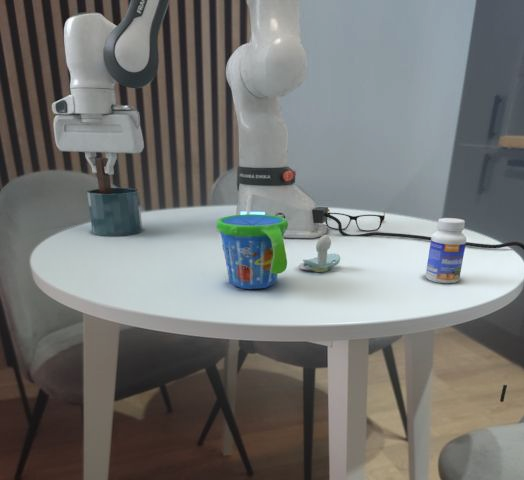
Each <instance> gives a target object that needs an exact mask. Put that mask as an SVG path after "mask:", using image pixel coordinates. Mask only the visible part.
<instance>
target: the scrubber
mask: <svg viewBox="0 0 524 480" xmlns="http://www.w3.org/2000/svg"><path fill="white" fill-rule="evenodd" d="M107 162H108V158H106V157H95V164H96V171H97V174H96V176H97V177H96V178H97V184H98V185H97V186H98V189H99V194H112V192H111V188H112V185H111V177H110V176H111V175H105V174H104V170H103V166H106V165H107Z"/></svg>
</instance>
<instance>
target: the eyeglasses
mask: <svg viewBox="0 0 524 480" xmlns="http://www.w3.org/2000/svg"><path fill="white" fill-rule="evenodd" d="M328 214H329V215H339V216H340V215H341V216H346V217H348V218H349V221H348V223H347V226H345V228H342V231H345V230H347V229H348V227H349V226H350V224H351V221H354V222H355V224H356V227H357V229H358V230H359V231H360V232H364V233H371V232H378V230H380V229H381V227H382V224H383V222H384V221H385V217H386V215H385V214H386V211H383V215H381V214H359V215H350V214H345V213H340V212H331V211H330V209H329V208H328ZM361 217H378V218H379V225H378V227H377V228H375V229H370V230H365V229H361V228H360V227H359V225H358V218H361ZM328 219H329V220H331V219H330V218H328ZM324 223H325V225H326V226H327V229H332V230H335V231H339V228H335V227H331V226H329V223H328V220H327V221H325V222H324Z"/></svg>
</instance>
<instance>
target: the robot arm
mask: <svg viewBox="0 0 524 480" xmlns="http://www.w3.org/2000/svg"><path fill="white" fill-rule="evenodd" d="M170 1H171V0H130V2H129V4H128V8H127V11H126V13H125V15H124V17H123V18H122V20H121V21H119V22H120V23H118V24H117V25H116V24H114V23H113V22H111V21H110V20H109V19H108V18H106V17H105V16H104V15H103V14H102V13H100V12H96V11H85V12H79V13H78V12H77V13H75V14H73V15H70V16H69V17H68V18H67V19H66V21H65V22H64V27H63V41H64V44H63V45H64V54H65V62H66V67H67V69H68V71H69V76H70V83H69V89H70V94H68V95H66V96H64V97H63V98H61V99H59V100H56V101H54V102H53V103H51V110H52V113H53V114H54V115H55V116H54V118H53V134H54V142H55V145H56V147H57V148H58V150H59V151H60V152H69V153H70V152H73V153H74V152H75V153H84V156H85V159H86V160H87V162H88V164H89V165H90V167H91V173H92V175H97V171H96V164H95V158H98V157H97V153H104V154H105V158H107V159H108V162H107V165H106V166H103V170H104V174H105V175H109V176H113V175H114V174H115V170H114V166H115V164H116V161H117V159H118V155H117V154H140V153H142V152H143V151H144V149H145V143H144V137H143V132H142V127H141V118H140V112H139V111H138V110H137V109H136V107H133V105H131V104H123V105H122V104H117V98H116V89H115V86H116V84H119V85H121V86H123V87H125V88H129V89H141V88H145V87H147V86H148V85H150V84H151V83H152V81H154V79H155V78H156V74H157V73H158V69H159V63H160V57H159V56H160V55H159V42H158V41H159V35H160V31H161V28H162V26H163V25H162V24H163V22H164V18H165V15H166V13H167V10H168V8H169V4H170ZM301 1H302V0H245V2H246V5H247V7H248V11H249V19H250V38H249V42H246V43H244V44H241V45H239V46H238V47H237V48H236V50H234V51H233V53H231V55H230V57H229V58H228V60H227V63H226V67H225V78H226V81H227V83H228V86H229V88H230V90H231V95H232V100H233V101H232V102H233V106H234V112H235V116H236V123H237V124H236V125H237V130H238V131H237V133H238V165H237V167H236V189H237V192H238V193H237V204H236V212H235V215H243V214H262V215H273V216H279V217H283V218H285V219H286V220H287V222H288V227H287V229H286V231H285V233H284V235H283V238H288V239H289V238H290V239H315V238H320V237H322V236H323V235H326V233H328V227H327V225H326V222H325V221H327V222H328V219H329V218H330V219H329V220H333V221H334V222H335V223H336V224H337V225H338V227H337V228H338V229H339V230H338V232H339V234H340V235H342V236H343V237H373V236H374V237H375V236H376V237H379V236H380V237H393V238H407V239H414V240H415V239H417V240H424V241H430V242H431V237H432V236H426V235H419V234H408V233H397V232H383V231H381V232H380V231H370V232H364V233H359V234H350V233H347V232H345V231H344V230H342V229H343V227H342V221H340V220H339V218H337V217H336V216H334V215H333V214H330V215H329V214H328V213H329V211H328V209H329V206H317V204H316V202H315V201H314V200H313V199H312V198H311V197H309V196H308V195H307V194H306V193H305V192H304V191H303V190H302V189H300V187H299V186H297V185H296V184H295V183H296V176H297V174H296V173H297V169H292V168H291V167H289V166H288V155H289V154H288V153H289V152H288V151H289V150H288V149H289V130H288V129H289V128H288V126H287V123H286V122H285V120H284V117H283V113H282V109H281V101H280V98H282V97H285V96H287V95H289V94H291V93H292V92H294V91H295V90H297V89H298V88H299V87H300V86H301V85H302V83H304V81H305V78H306V76H307V73H308V65H309V61H308V57H307V53H306V50H305V48H304V46H303V44H302V38H301V37H302V35H301ZM511 246H517V247H520V248H521V249H522V250H524V243H522V242H519V241H509V242H505V243H504V242H503V243H499V244H490V243H489V244H488V243H477V242H469V241H466V245H465V247H473V248H481V249H482V248H483V249H503V248H507V247H511ZM507 387H508V384H503V386H502V389H501V395H500V399H499V402H500V403H504V401H505V396H506V392H507Z"/></svg>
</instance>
